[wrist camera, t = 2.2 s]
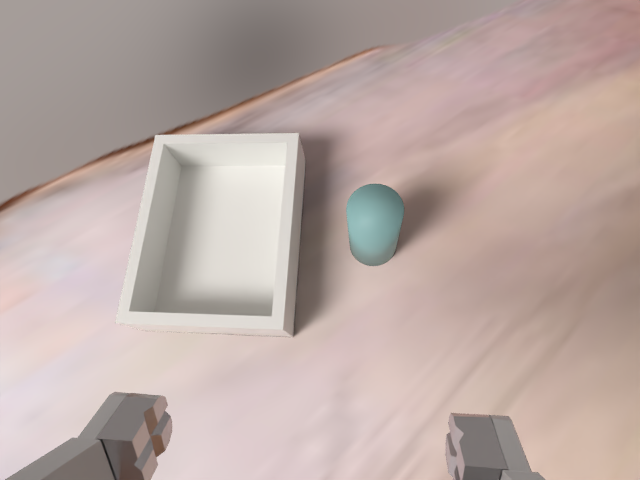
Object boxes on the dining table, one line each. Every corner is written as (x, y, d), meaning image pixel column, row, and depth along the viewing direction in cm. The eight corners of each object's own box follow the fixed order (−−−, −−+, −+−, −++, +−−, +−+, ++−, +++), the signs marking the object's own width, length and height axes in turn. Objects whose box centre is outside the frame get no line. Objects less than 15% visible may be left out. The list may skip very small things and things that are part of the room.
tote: (305, 160, 43) (298, 133, 38) (293, 337, 37) (283, 329, 32) (177, 161, 45) (155, 135, 40) (145, 331, 39) (114, 323, 34)
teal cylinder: (396, 222, 40) (403, 183, 32) (396, 266, 38) (404, 236, 31) (350, 222, 40) (347, 183, 33) (349, 265, 39) (345, 235, 31)
